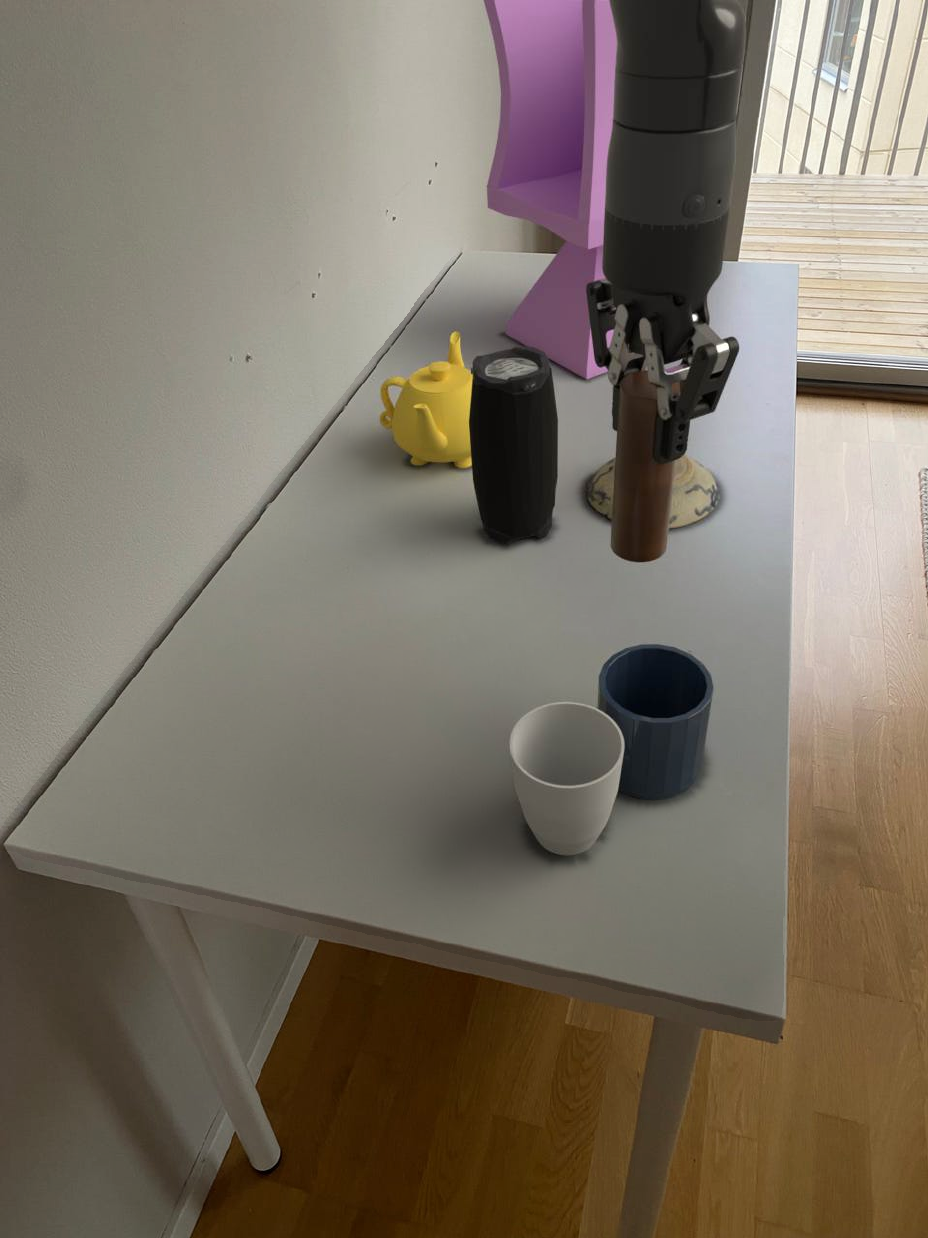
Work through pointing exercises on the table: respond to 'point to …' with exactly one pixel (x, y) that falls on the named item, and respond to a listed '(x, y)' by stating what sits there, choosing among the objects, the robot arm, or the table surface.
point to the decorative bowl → (689, 496)
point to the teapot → (433, 411)
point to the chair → (555, 158)
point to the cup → (566, 773)
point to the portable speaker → (514, 442)
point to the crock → (657, 717)
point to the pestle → (640, 475)
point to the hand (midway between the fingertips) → (646, 442)
